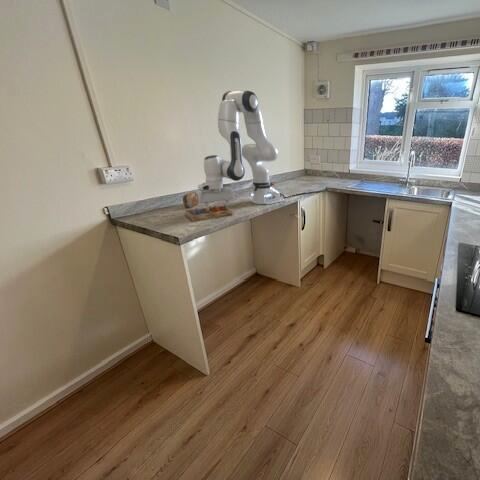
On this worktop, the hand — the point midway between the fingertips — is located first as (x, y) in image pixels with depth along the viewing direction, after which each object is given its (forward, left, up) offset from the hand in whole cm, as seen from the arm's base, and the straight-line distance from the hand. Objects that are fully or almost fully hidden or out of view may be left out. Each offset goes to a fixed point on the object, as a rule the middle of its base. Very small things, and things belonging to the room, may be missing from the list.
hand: (217, 208), depth 154 cm
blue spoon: (+11, 0, -2) cm, 11 cm away
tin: (+8, -27, -3) cm, 28 cm away
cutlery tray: (+5, 0, -3) cm, 6 cm away
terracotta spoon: (0, 0, -2) cm, 2 cm away
